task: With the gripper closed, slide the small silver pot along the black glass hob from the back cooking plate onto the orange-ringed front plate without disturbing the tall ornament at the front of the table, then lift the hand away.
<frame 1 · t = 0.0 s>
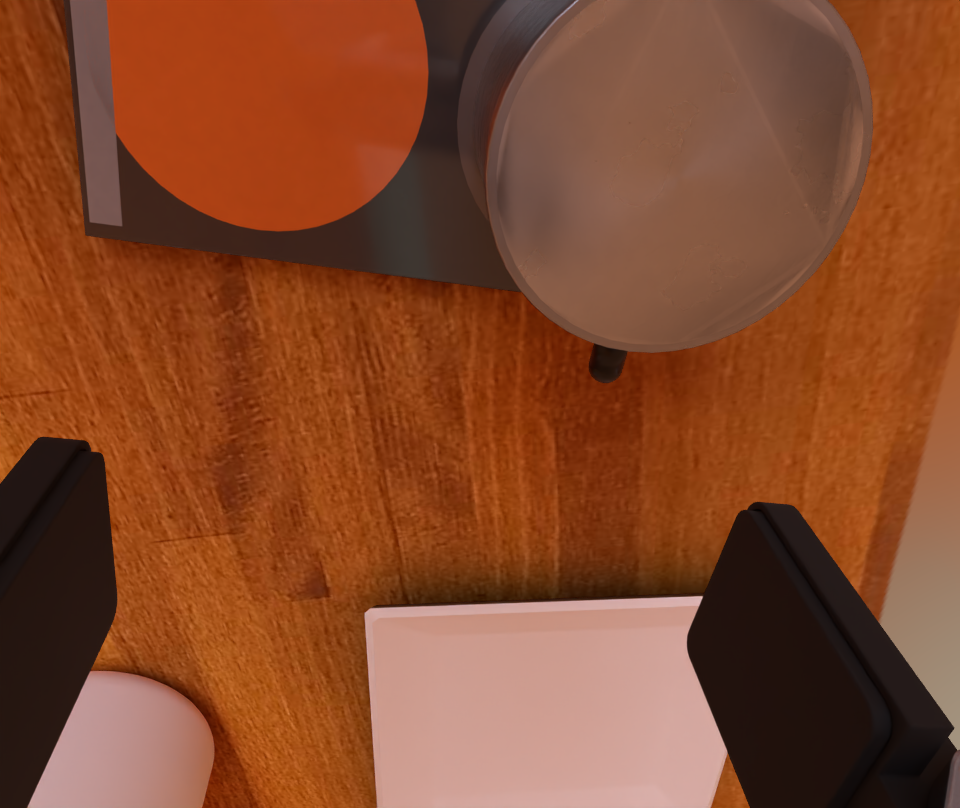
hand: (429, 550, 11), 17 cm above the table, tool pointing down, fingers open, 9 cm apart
pot: (612, 126, 24), point 1 cm above the table, touching hob
plate: (551, 702, 40), on the table
hob: (441, 93, 24), on the table
cup: (119, 722, 38), on the table
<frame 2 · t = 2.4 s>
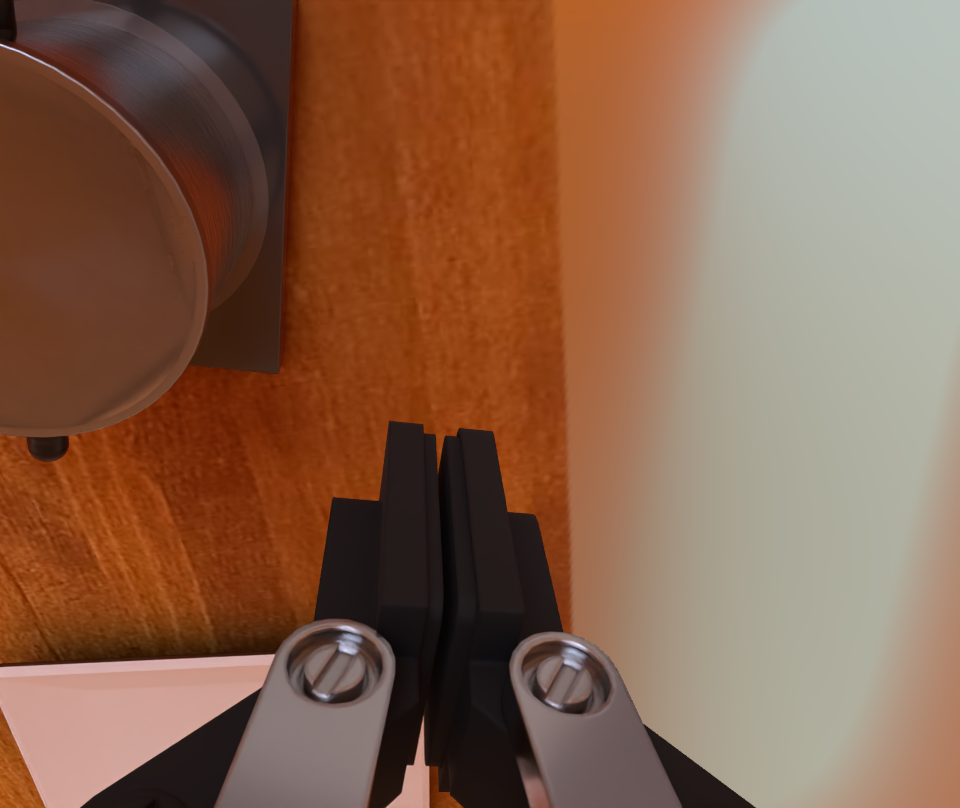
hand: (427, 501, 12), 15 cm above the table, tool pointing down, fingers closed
pot: (100, 183, 23), point 1 cm above the table, touching hob
plate: (247, 750, 39), on the table
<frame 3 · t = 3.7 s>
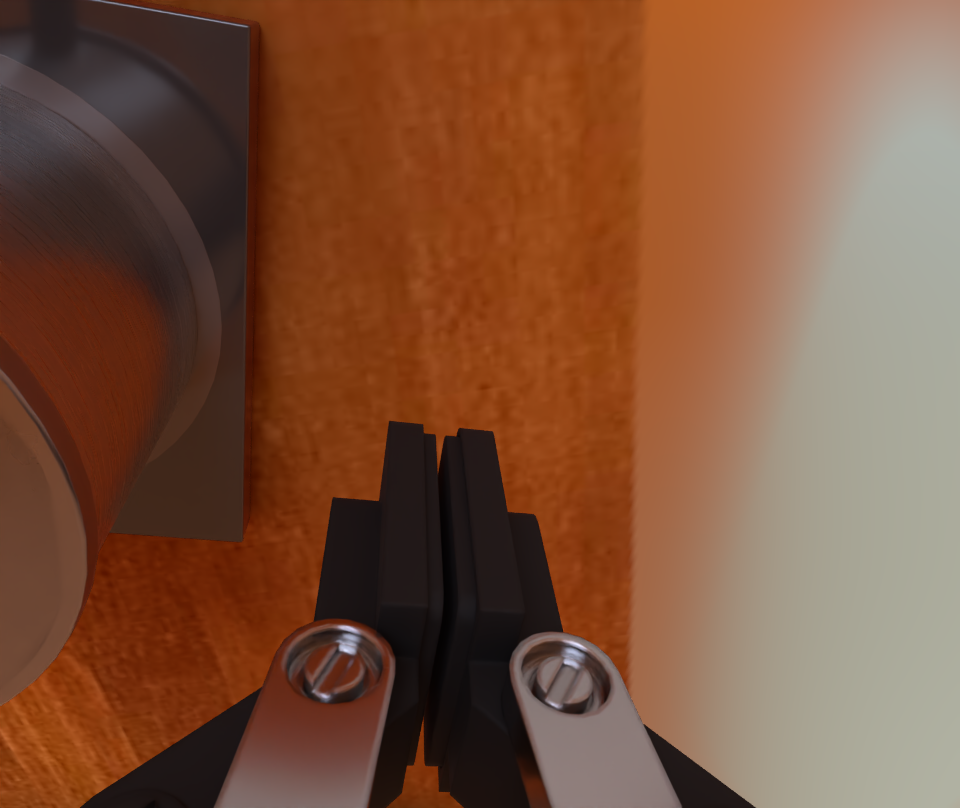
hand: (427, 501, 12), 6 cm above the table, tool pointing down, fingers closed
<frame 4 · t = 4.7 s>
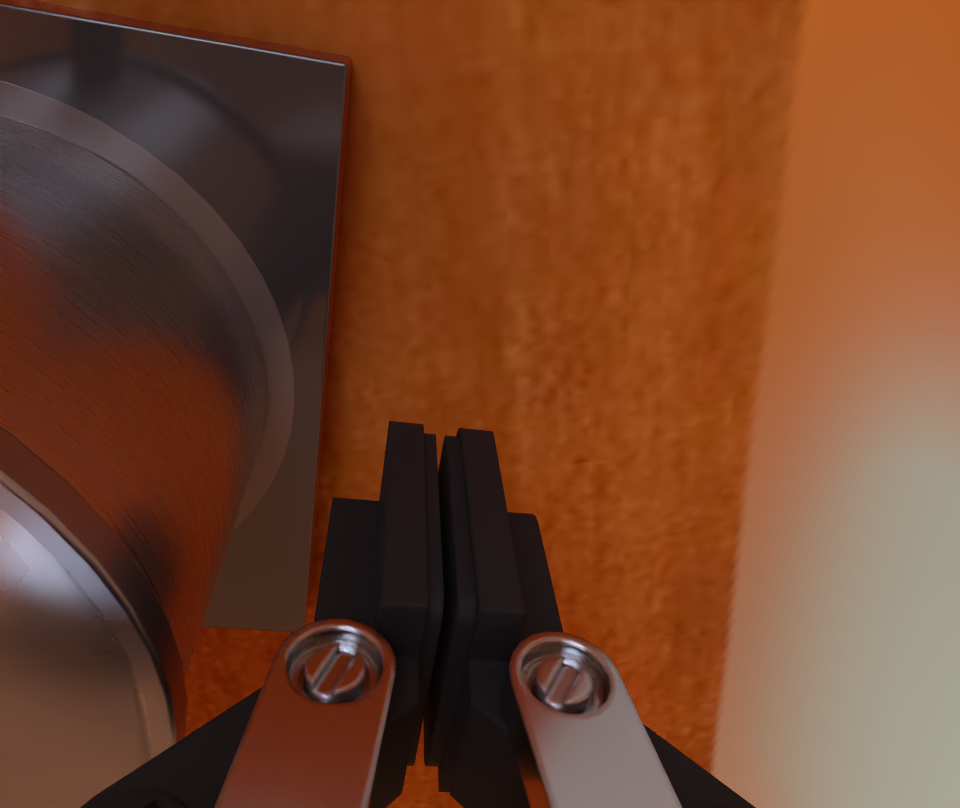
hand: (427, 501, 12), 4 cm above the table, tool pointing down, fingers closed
pot: (5, 375, 13), point 1 cm above the table, touching gripper, hob
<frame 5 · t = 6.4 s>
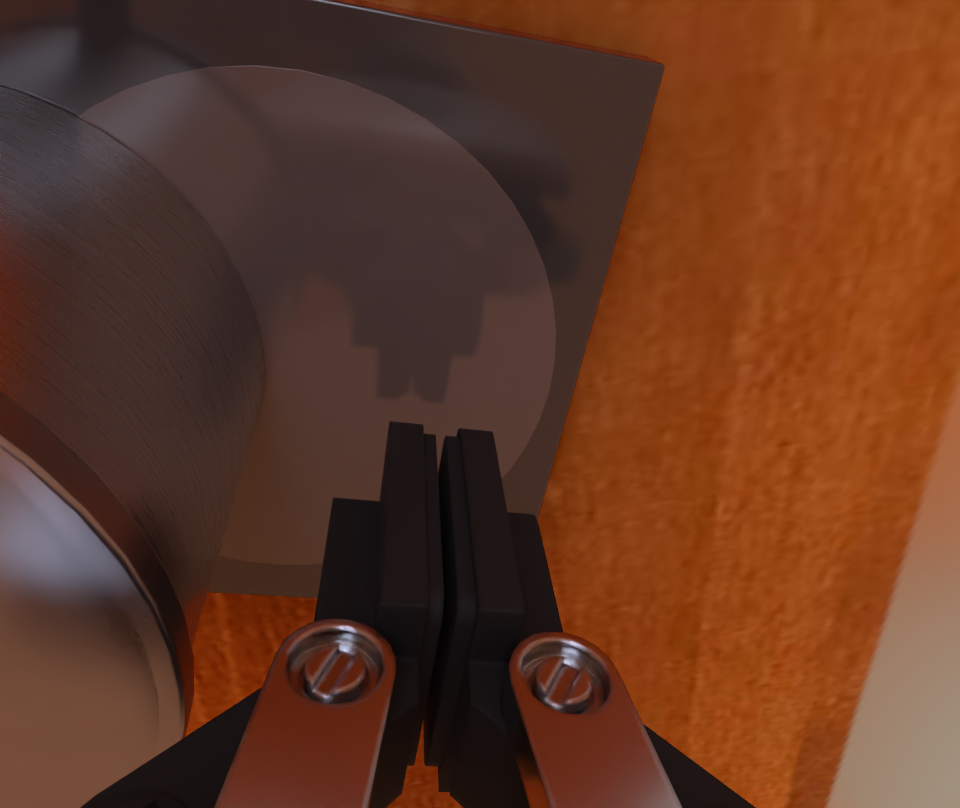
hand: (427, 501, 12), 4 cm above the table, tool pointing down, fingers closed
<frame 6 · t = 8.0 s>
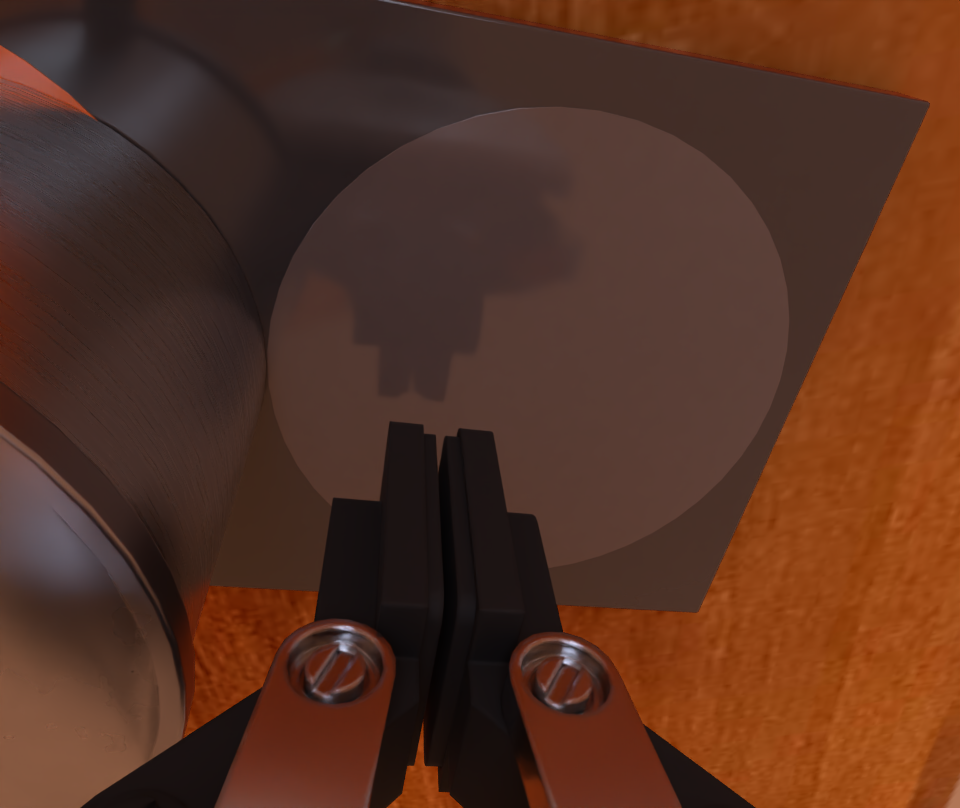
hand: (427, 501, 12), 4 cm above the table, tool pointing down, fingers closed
pot: (0, 344, 13), point 1 cm above the table, touching gripper, hob
hob: (247, 324, 14), on the table
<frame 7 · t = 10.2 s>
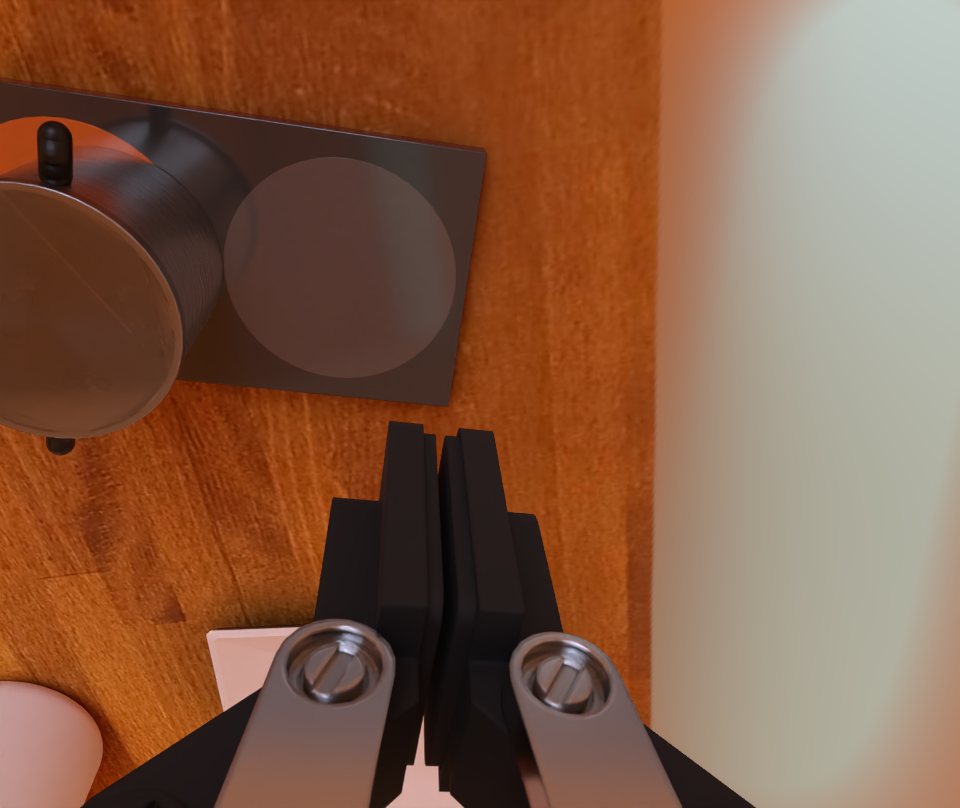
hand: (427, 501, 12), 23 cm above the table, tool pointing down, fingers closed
pot: (113, 257, 31), point 1 cm above the table, touching hob
plate: (385, 707, 48), on the table
hob: (217, 252, 33), on the table
cup: (26, 723, 46), on the table
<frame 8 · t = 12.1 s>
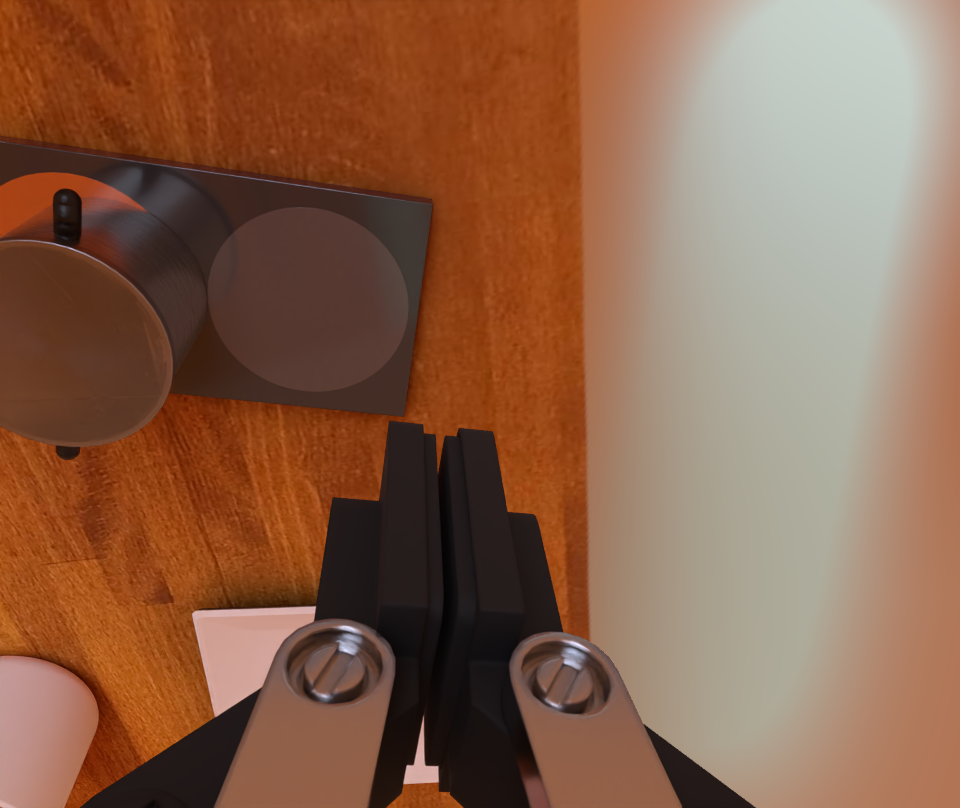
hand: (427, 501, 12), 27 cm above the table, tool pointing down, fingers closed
pot: (112, 289, 37), point 1 cm above the table, touching hob
plate: (353, 680, 54), on the table
hob: (201, 284, 38), on the table
cup: (29, 694, 52), on the table
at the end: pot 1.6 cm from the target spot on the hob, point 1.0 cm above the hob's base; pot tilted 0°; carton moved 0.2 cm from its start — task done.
